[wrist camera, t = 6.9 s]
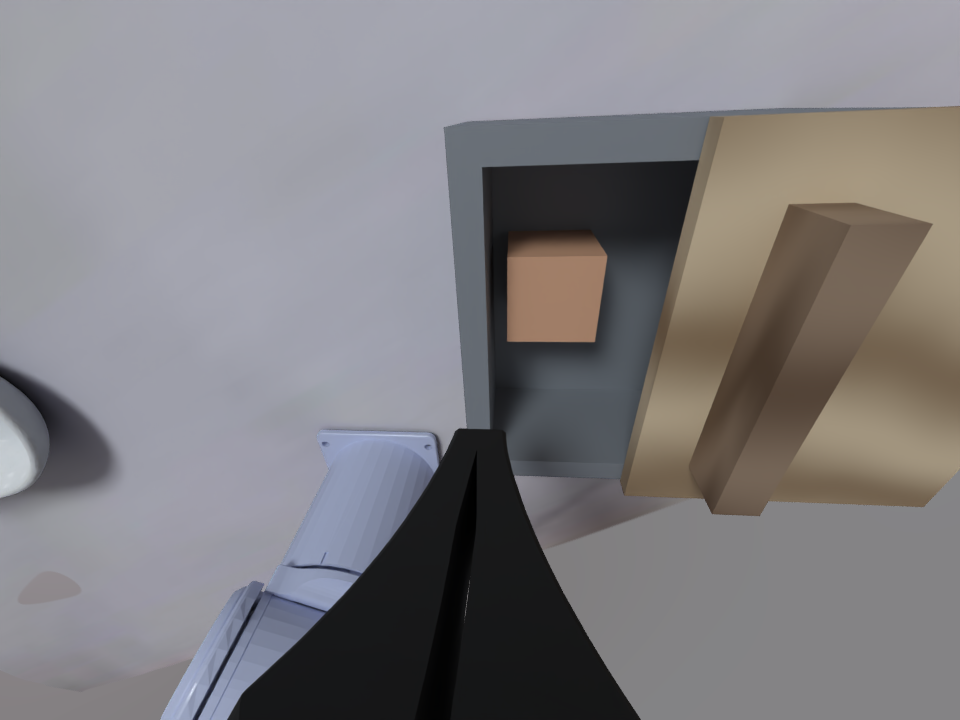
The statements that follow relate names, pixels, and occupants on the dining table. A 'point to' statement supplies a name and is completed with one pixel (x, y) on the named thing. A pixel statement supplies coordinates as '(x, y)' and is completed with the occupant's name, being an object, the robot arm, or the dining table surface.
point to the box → (567, 274)
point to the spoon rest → (20, 441)
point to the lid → (810, 317)
